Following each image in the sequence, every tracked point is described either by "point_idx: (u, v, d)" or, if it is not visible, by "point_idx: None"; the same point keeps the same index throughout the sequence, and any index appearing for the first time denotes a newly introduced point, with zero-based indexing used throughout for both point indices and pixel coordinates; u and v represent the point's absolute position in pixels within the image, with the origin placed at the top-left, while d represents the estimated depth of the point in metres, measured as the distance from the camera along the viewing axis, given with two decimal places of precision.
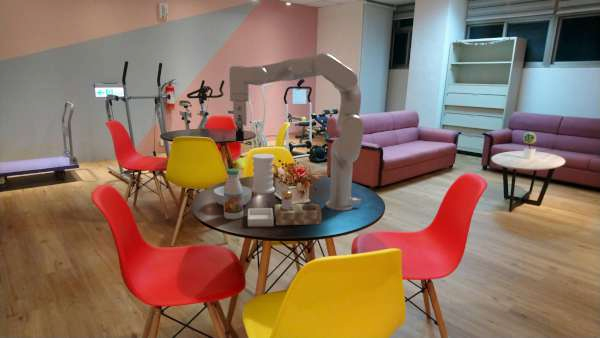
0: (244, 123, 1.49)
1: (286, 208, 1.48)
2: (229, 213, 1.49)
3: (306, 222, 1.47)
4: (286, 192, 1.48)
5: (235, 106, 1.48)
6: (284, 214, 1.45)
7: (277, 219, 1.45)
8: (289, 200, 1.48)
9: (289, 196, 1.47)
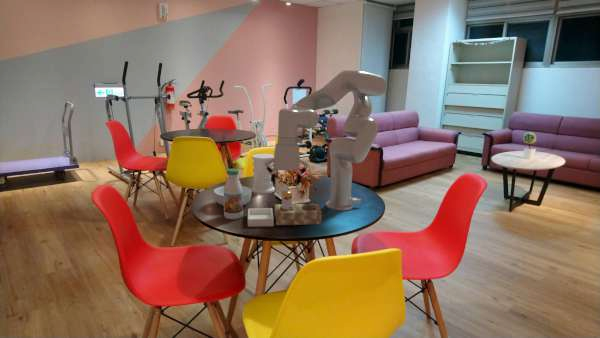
0: None
1: (286, 208, 1.48)
2: (229, 213, 1.49)
3: (306, 222, 1.47)
4: (286, 192, 1.48)
5: (298, 150, 1.43)
6: (284, 214, 1.45)
7: (277, 219, 1.45)
8: (289, 200, 1.48)
9: (289, 196, 1.47)
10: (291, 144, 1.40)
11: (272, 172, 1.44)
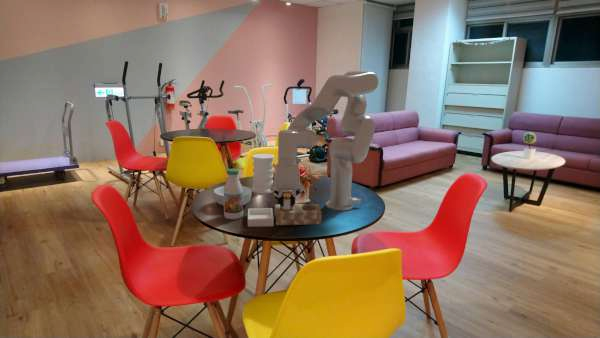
0: None
1: (285, 208, 1.48)
2: (229, 213, 1.49)
3: (306, 222, 1.47)
4: (286, 192, 1.48)
5: (298, 170, 1.45)
6: (284, 214, 1.45)
7: (277, 219, 1.45)
8: (289, 200, 1.48)
9: (289, 196, 1.47)
10: (291, 165, 1.42)
11: (279, 195, 1.47)
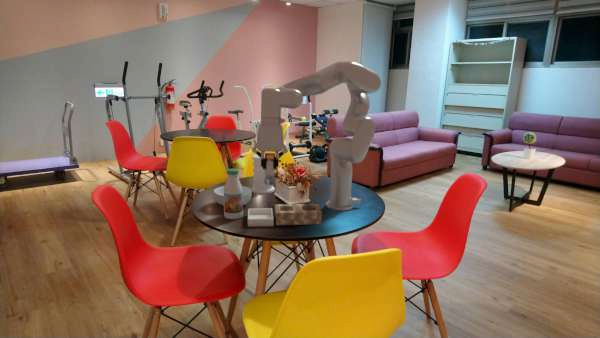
0: None
1: (268, 171, 1.43)
2: (229, 213, 1.49)
3: (306, 222, 1.47)
4: (269, 154, 1.43)
5: (282, 131, 1.41)
6: (284, 214, 1.45)
7: (277, 219, 1.45)
8: (272, 162, 1.43)
9: (272, 158, 1.42)
10: (274, 124, 1.38)
11: (261, 156, 1.42)
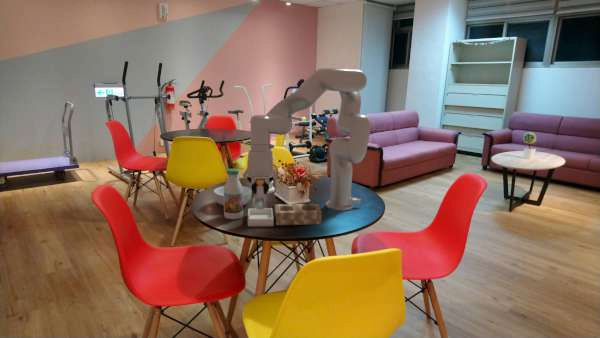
0: None
1: (259, 195, 1.45)
2: (229, 213, 1.49)
3: (306, 222, 1.47)
4: (259, 179, 1.45)
5: (272, 156, 1.43)
6: (284, 214, 1.45)
7: (277, 219, 1.45)
8: (262, 187, 1.45)
9: (262, 183, 1.44)
10: (263, 151, 1.40)
11: (252, 182, 1.44)
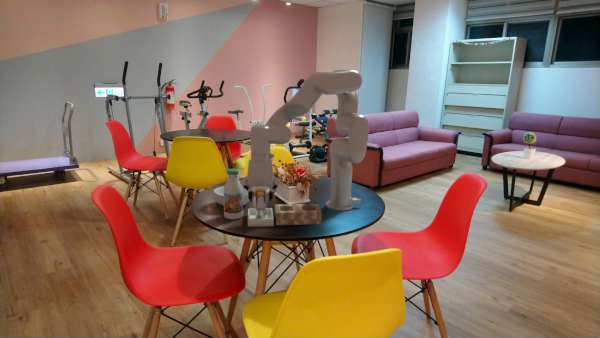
0: None
1: (259, 207, 1.47)
2: (229, 213, 1.49)
3: (306, 222, 1.47)
4: (259, 190, 1.46)
5: (272, 166, 1.43)
6: (284, 214, 1.45)
7: (277, 219, 1.45)
8: (262, 198, 1.46)
9: (262, 194, 1.46)
10: (263, 160, 1.41)
11: (248, 190, 1.45)
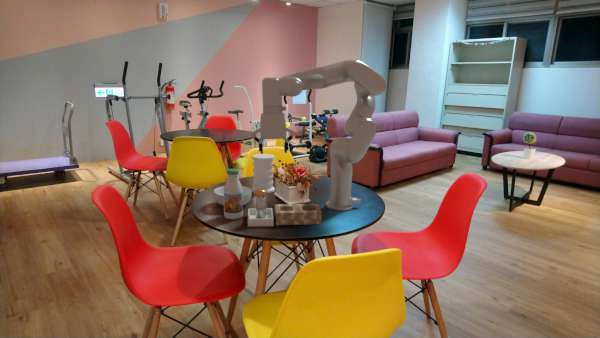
0: None
1: (259, 207, 1.47)
2: (229, 213, 1.49)
3: (306, 222, 1.47)
4: (260, 190, 1.46)
5: (284, 118, 1.45)
6: (284, 214, 1.45)
7: (277, 219, 1.45)
8: (263, 198, 1.46)
9: (263, 194, 1.46)
10: (276, 112, 1.42)
11: (259, 141, 1.46)
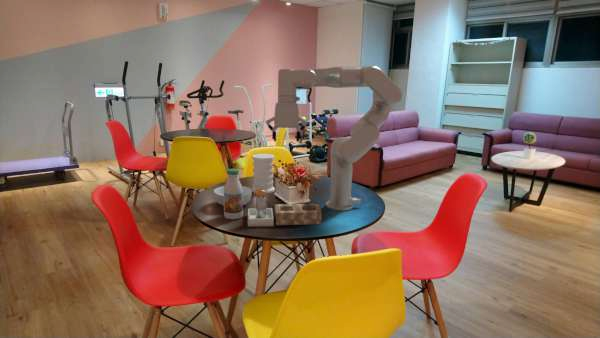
0: None
1: (259, 207, 1.47)
2: (229, 213, 1.49)
3: (306, 222, 1.47)
4: (260, 190, 1.46)
5: (297, 108, 1.52)
6: (284, 214, 1.45)
7: (277, 219, 1.45)
8: (263, 198, 1.46)
9: (263, 194, 1.46)
10: (290, 102, 1.49)
11: (273, 129, 1.53)
